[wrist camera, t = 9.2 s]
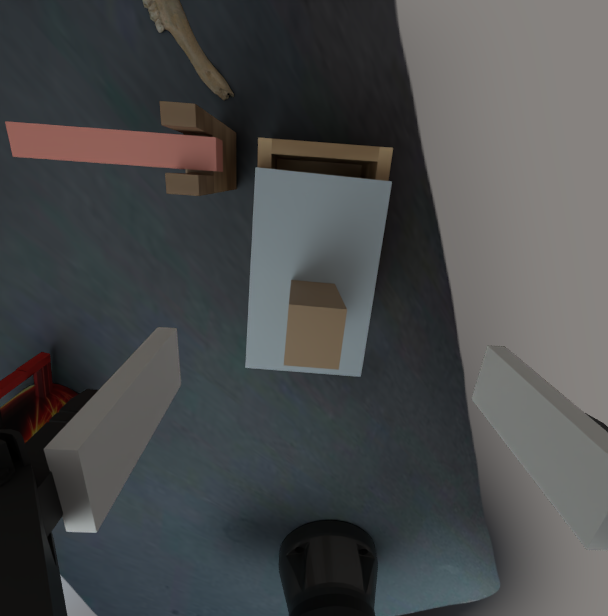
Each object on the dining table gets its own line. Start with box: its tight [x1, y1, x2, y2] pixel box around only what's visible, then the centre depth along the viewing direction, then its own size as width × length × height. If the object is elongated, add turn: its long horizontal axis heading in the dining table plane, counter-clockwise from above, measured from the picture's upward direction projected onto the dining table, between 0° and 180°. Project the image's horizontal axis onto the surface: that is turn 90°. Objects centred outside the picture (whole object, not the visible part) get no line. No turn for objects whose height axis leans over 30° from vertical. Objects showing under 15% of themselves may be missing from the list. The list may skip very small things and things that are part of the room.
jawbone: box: [143, 0, 234, 101], centre depth 27 cm, size 9×20×2 cm, turn 63°
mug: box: [0, 352, 78, 443], centre depth 37 cm, size 10×14×12 cm
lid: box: [245, 167, 392, 377], centre depth 24 cm, size 16×10×9 cm, turn 174°
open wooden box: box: [258, 138, 393, 181], centre depth 31 cm, size 16×10×8 cm, turn 176°
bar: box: [5, 122, 223, 172], centre depth 22 cm, size 2×13×2 cm, turn 86°
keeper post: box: [160, 101, 236, 196], centre depth 26 cm, size 5×2×13 cm, turn 176°
